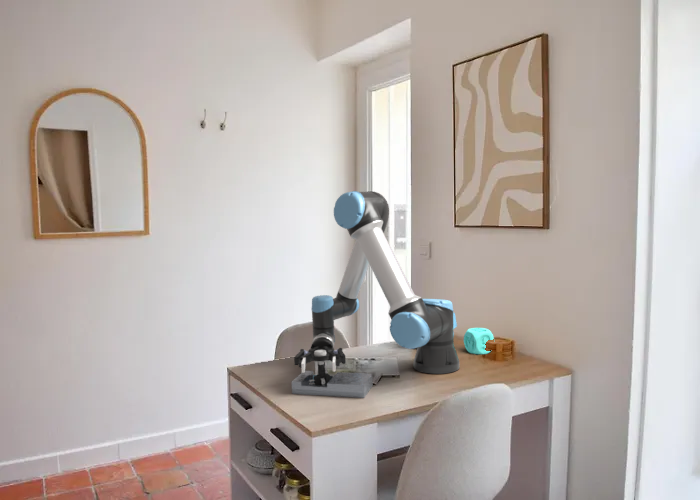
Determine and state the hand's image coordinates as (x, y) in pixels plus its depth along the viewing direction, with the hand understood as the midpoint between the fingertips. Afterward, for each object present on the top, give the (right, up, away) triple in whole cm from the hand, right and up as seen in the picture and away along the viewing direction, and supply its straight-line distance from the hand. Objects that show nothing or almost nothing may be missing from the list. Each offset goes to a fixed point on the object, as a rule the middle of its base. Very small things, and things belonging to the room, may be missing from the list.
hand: (318, 367), depth 163 cm
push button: (0, -6, +5) cm, 8 cm away
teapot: (+41, -3, +50) cm, 65 cm away
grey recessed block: (+4, -8, +4) cm, 10 cm away
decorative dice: (+57, -3, +41) cm, 70 cm away
